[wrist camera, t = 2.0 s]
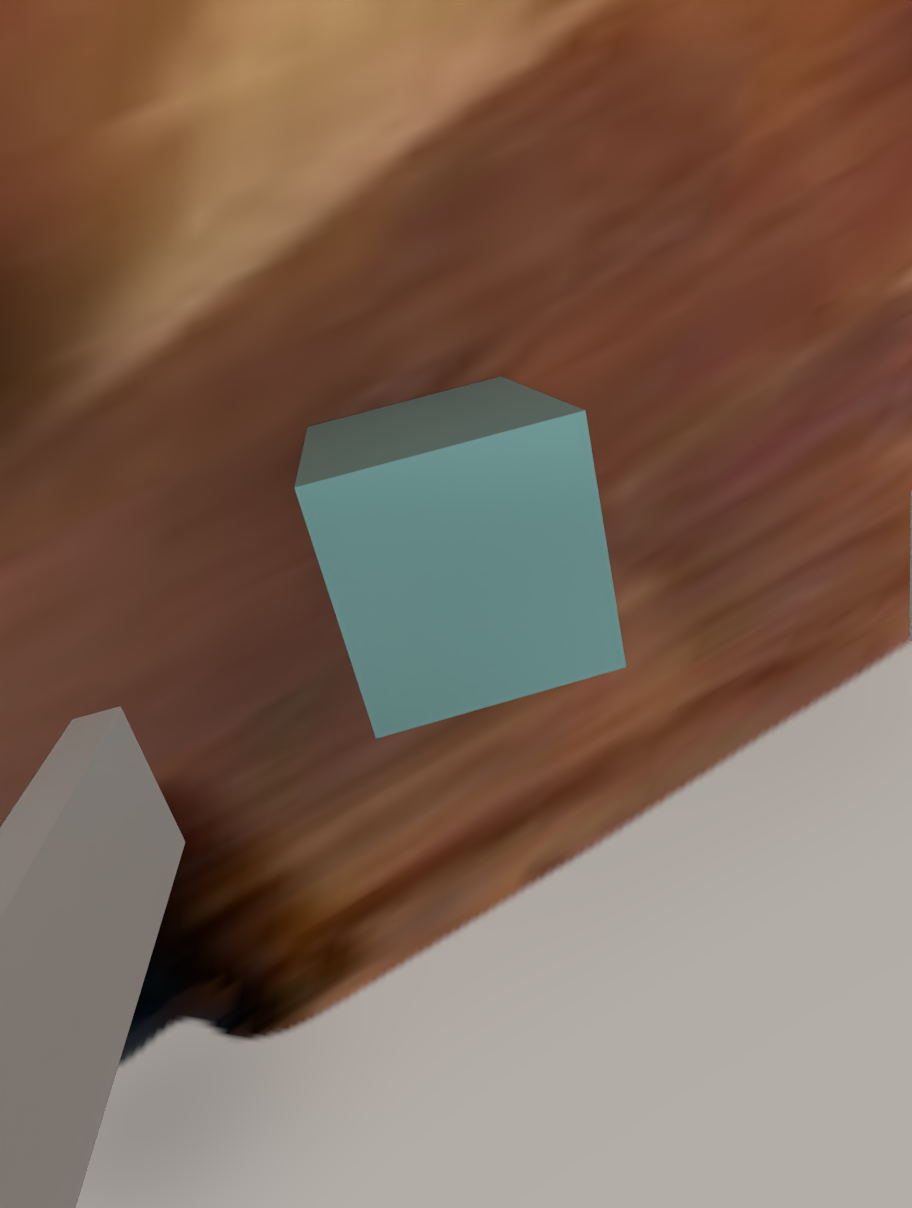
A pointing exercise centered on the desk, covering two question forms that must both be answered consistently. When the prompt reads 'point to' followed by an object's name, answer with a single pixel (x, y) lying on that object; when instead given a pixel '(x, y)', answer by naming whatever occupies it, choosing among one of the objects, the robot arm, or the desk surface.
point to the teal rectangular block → (461, 549)
